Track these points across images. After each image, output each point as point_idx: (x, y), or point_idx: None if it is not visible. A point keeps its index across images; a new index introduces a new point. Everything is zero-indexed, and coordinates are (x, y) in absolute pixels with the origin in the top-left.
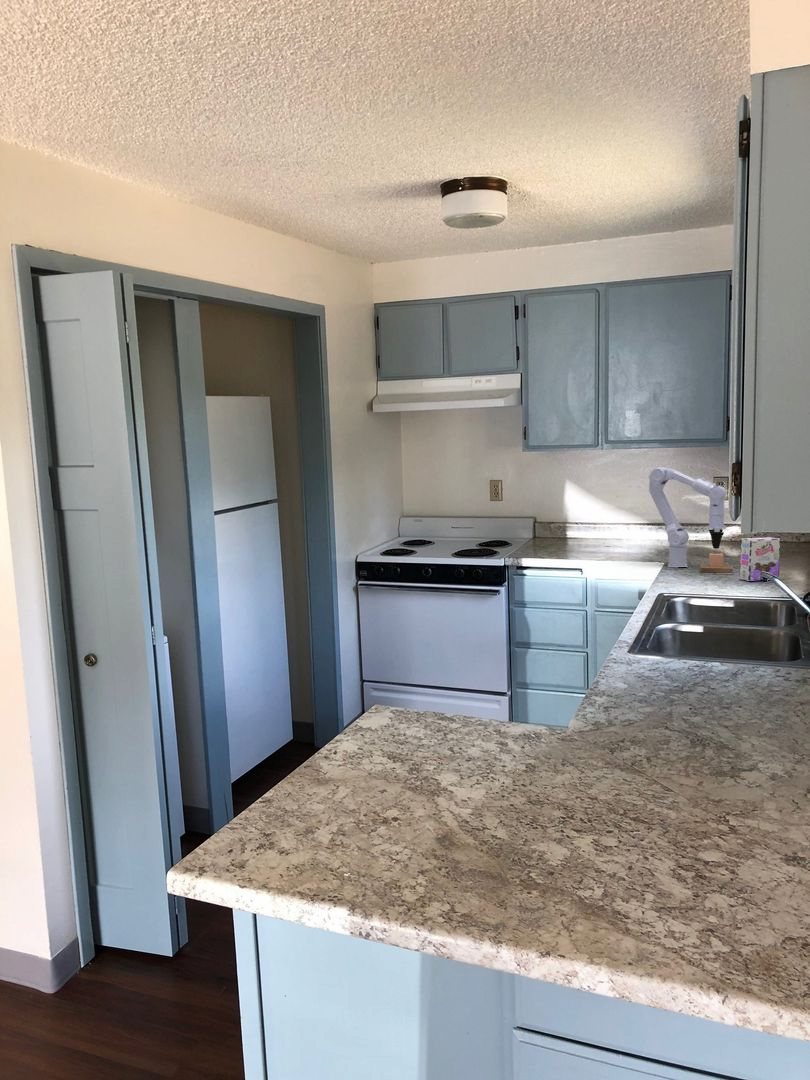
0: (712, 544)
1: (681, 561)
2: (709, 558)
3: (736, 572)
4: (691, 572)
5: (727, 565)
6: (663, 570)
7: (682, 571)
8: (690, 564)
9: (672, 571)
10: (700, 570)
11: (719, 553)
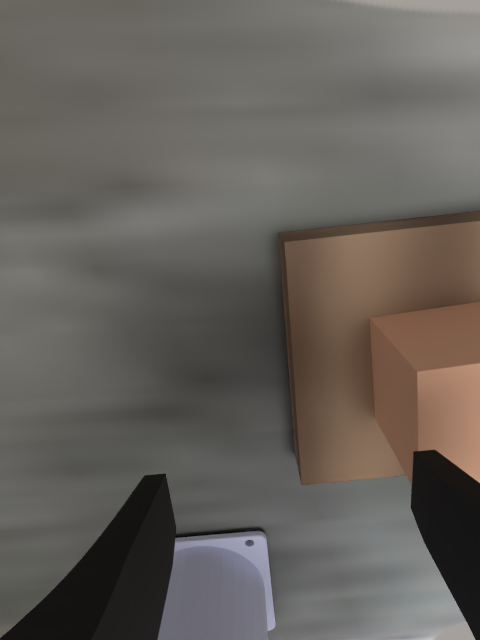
0: (173, 553)
1: (259, 603)
2: None
3: (399, 172)
4: None
5: (361, 267)
6: (404, 628)
7: None
8: (54, 525)
9: (438, 586)
10: None
11: (426, 400)
